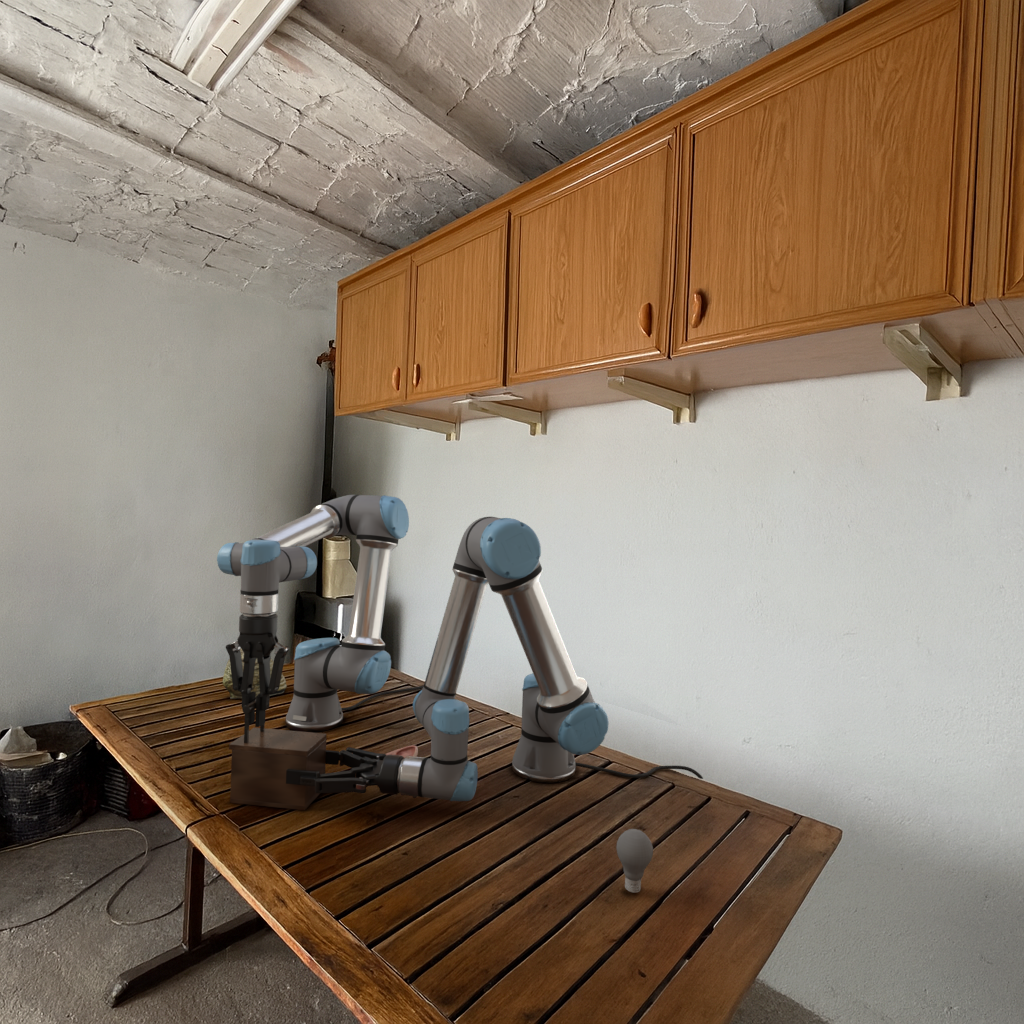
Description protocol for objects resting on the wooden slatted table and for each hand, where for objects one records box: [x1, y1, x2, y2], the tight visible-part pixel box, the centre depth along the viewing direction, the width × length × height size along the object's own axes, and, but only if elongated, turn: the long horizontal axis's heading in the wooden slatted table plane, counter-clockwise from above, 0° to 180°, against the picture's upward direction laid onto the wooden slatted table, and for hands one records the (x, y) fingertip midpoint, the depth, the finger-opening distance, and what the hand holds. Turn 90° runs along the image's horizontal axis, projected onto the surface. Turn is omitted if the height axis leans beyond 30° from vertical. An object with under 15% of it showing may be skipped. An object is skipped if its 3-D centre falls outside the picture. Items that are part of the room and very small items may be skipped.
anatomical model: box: [385, 744, 419, 758], centre depth 149 cm, size 13×4×12 cm
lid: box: [228, 698, 328, 756], centre depth 133 cm, size 17×10×9 cm, turn 83°
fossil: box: [222, 649, 288, 699], centre depth 198 cm, size 9×18×15 cm, turn 132°
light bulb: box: [615, 828, 654, 894], centre depth 106 cm, size 6×6×10 cm
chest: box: [229, 738, 327, 811], centre depth 133 cm, size 16×10×11 cm, turn 83°
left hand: (254, 724), depth 134 cm, fingers closed on lid, 2 cm apart
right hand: (298, 765), depth 133 cm, fingers closed on chest, 10 cm apart
